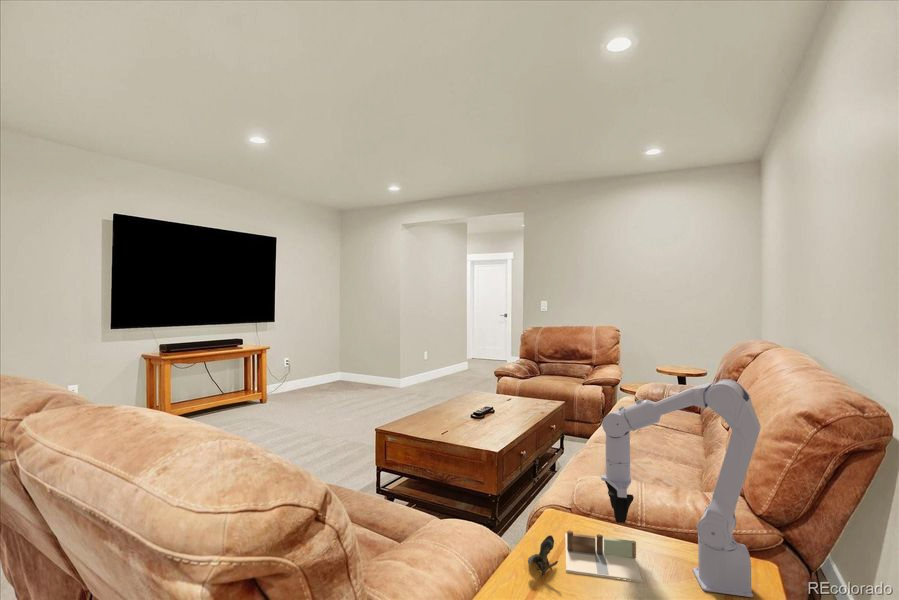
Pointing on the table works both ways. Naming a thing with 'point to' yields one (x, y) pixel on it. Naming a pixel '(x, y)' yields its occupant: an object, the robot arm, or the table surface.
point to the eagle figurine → (543, 556)
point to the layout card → (602, 565)
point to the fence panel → (620, 547)
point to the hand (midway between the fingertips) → (618, 514)
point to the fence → (584, 543)
